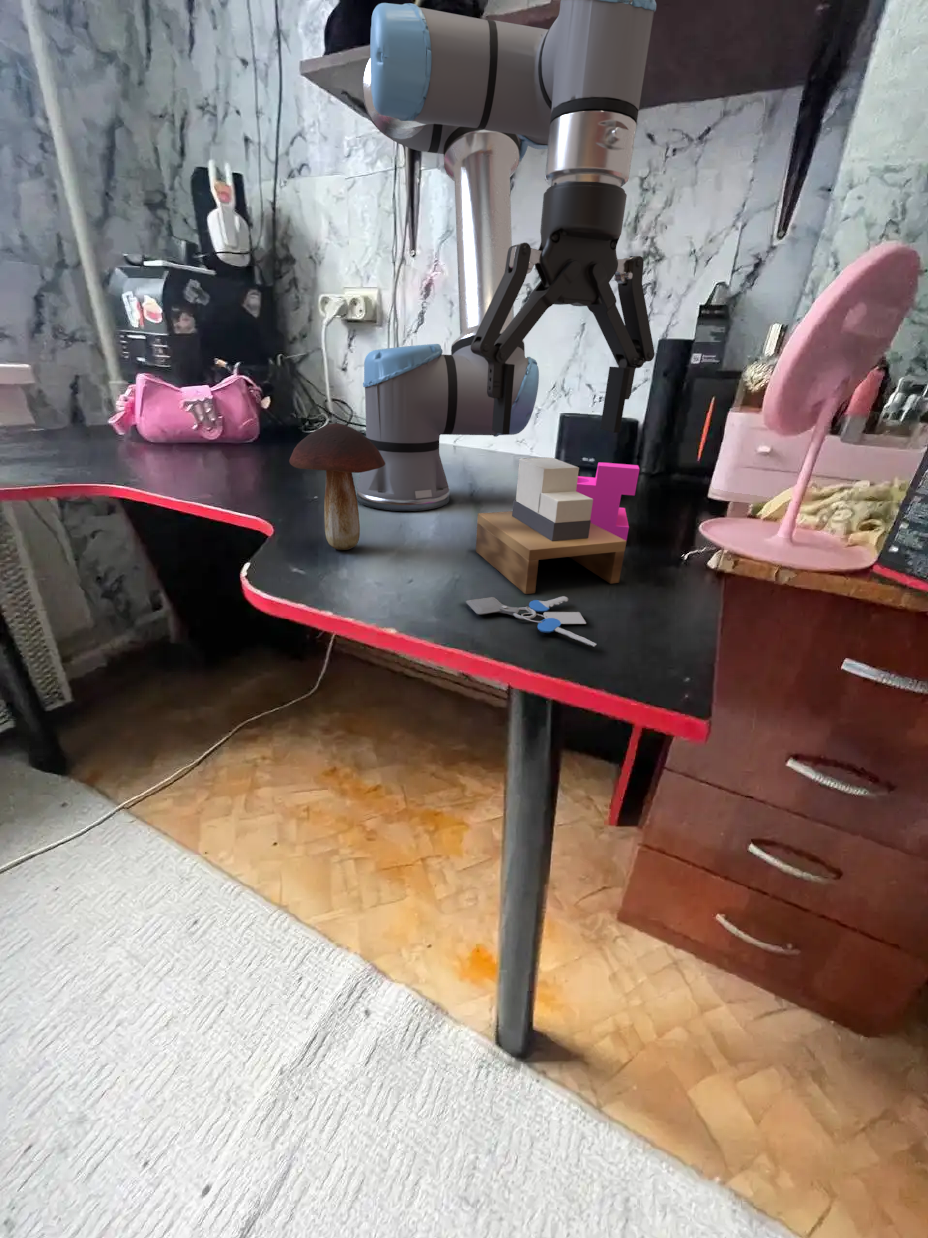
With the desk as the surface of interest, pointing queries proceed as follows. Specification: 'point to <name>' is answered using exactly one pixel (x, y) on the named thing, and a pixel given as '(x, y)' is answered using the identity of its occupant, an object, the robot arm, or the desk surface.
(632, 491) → the bracket
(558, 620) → the key chain
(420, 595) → the desk surface
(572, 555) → the oak shelf
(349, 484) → the decorative mushroom
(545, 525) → the stepped grey-based block
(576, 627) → the desk surface
